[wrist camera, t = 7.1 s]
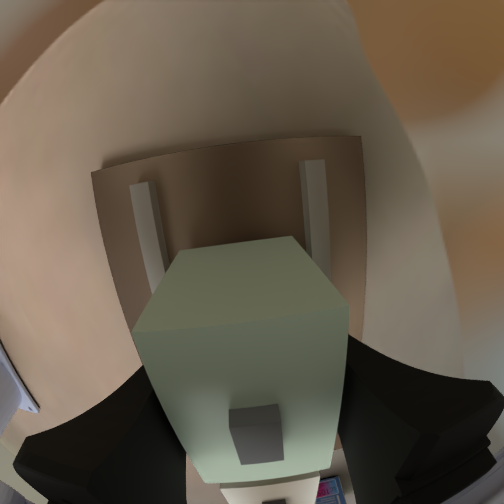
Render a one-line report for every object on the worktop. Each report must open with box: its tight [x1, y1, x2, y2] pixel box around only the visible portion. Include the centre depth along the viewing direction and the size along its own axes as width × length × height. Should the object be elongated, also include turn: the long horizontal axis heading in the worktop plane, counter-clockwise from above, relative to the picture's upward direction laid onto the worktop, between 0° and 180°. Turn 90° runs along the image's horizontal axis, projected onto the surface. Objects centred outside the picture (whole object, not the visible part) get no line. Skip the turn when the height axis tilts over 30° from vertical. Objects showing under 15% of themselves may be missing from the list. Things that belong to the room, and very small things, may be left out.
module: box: [131, 236, 350, 483], centre depth 9 cm, size 4×7×7 cm, turn 7°
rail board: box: [91, 136, 367, 504], centre depth 11 cm, size 12×22×8 cm, turn 7°
